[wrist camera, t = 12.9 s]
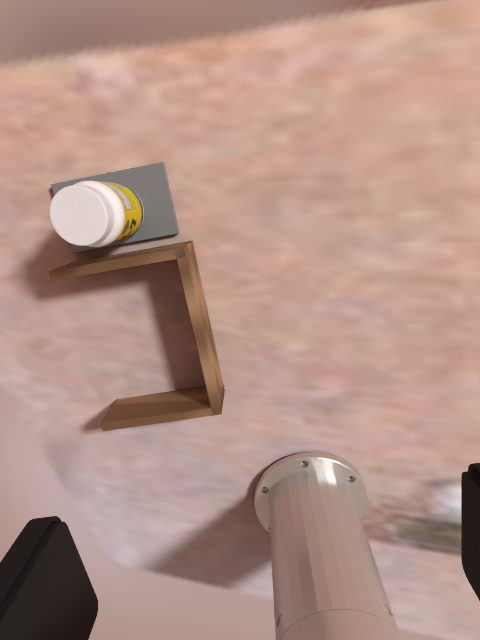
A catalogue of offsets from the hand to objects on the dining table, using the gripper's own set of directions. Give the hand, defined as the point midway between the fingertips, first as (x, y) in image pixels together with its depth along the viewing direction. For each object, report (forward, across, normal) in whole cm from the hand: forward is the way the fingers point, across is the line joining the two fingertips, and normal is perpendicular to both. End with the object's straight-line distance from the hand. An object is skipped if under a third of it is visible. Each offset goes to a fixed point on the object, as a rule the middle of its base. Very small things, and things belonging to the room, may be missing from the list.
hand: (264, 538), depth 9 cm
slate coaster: (+28, +11, -8) cm, 32 cm away
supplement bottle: (+28, +11, -8) cm, 31 cm away
